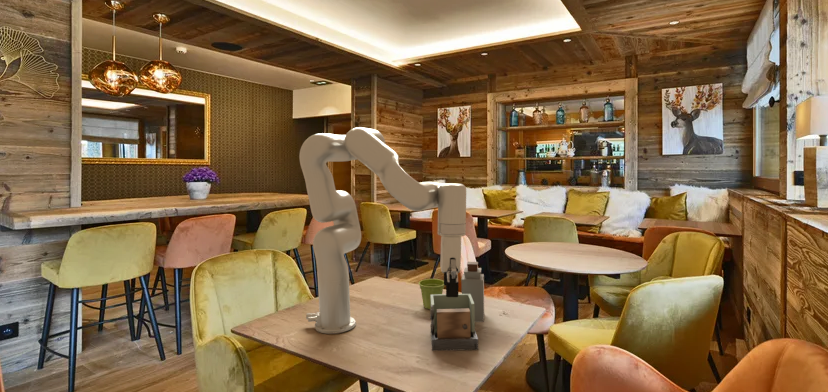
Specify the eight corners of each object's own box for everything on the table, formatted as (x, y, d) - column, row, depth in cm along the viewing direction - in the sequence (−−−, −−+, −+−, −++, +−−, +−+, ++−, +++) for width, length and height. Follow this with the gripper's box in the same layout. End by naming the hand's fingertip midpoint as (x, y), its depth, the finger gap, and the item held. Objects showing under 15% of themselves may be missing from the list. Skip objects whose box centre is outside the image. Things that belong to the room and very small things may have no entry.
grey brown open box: (431, 350, 112) (430, 310, 111) (430, 341, 117) (429, 303, 116) (478, 349, 111) (477, 309, 111) (475, 340, 117) (475, 302, 116)
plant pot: (450, 304, 147) (449, 280, 146) (437, 313, 139) (436, 288, 139) (427, 300, 152) (427, 277, 151) (413, 308, 144) (413, 284, 144)
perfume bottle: (483, 322, 131) (482, 265, 129) (462, 320, 132) (461, 265, 131) (484, 314, 137) (483, 260, 136) (463, 313, 139) (463, 260, 137)
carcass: (432, 342, 116) (431, 304, 115) (431, 330, 125) (430, 294, 124) (475, 342, 116) (474, 303, 115) (470, 329, 125) (470, 293, 124)
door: (438, 349, 112) (437, 313, 112) (437, 344, 116) (436, 309, 115) (471, 348, 112) (470, 312, 112) (469, 343, 116) (469, 308, 115)
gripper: (436, 223, 120) (435, 281, 122) (439, 235, 103) (438, 301, 105) (462, 224, 120) (461, 281, 122) (469, 235, 103) (468, 302, 105)
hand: (450, 290), depth 113 cm, fingers open, 9 cm apart
